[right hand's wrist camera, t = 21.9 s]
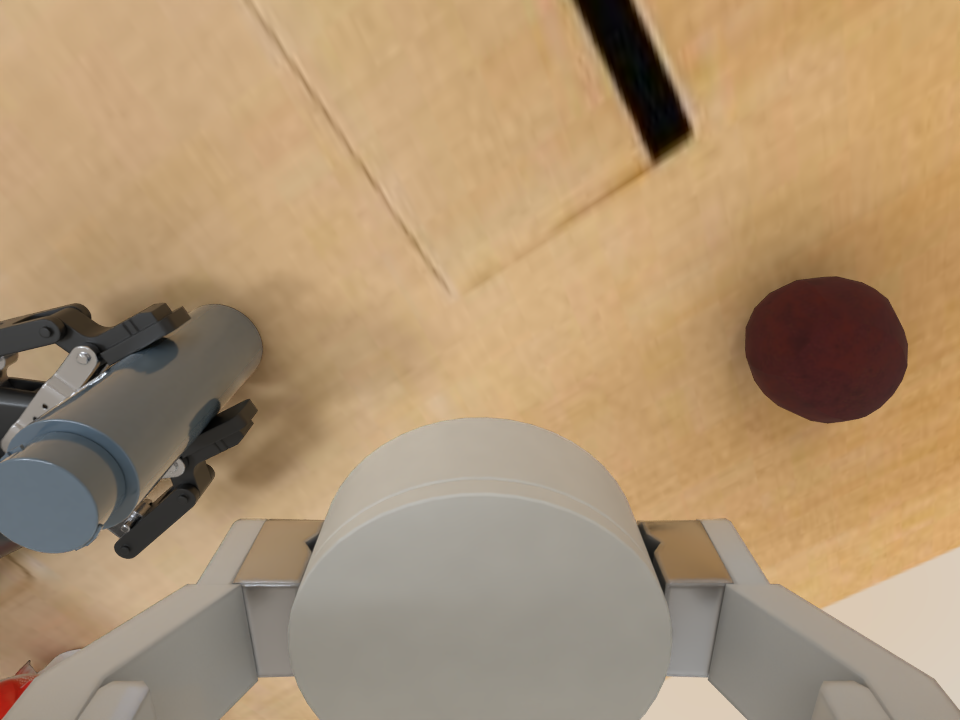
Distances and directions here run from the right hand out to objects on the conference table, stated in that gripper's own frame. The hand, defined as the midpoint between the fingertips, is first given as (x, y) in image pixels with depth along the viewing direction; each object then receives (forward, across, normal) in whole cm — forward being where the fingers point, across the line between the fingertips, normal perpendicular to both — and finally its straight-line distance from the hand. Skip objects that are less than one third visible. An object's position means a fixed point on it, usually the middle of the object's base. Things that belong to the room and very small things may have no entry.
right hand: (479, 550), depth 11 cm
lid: (-2, 0, 0) cm, 2 cm away
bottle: (+25, +15, +6) cm, 30 cm away
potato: (+25, -18, +4) cm, 31 cm away
